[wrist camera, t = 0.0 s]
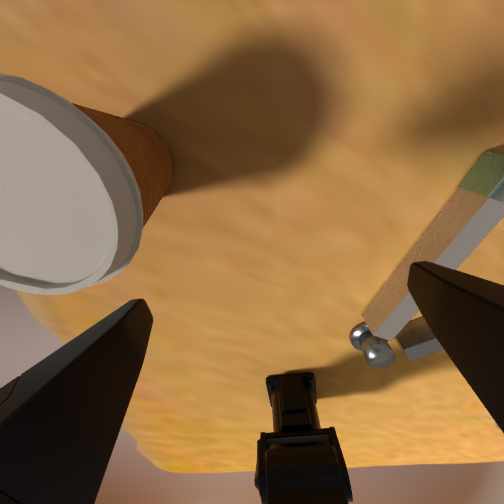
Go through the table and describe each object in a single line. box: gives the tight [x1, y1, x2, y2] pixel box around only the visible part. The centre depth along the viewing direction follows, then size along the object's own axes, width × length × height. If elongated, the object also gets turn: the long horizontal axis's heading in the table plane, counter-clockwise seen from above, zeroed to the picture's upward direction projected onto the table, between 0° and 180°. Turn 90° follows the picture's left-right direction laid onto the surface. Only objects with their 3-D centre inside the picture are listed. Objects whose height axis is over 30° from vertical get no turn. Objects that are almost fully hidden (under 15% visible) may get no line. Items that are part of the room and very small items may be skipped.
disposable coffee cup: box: [0, 73, 174, 295], centre depth 15 cm, size 10×10×12 cm
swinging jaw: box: [362, 151, 504, 341], centre depth 23 cm, size 18×3×3 cm, turn 160°
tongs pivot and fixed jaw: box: [350, 316, 444, 368], centre depth 26 cm, size 23×5×4 cm, turn 122°
